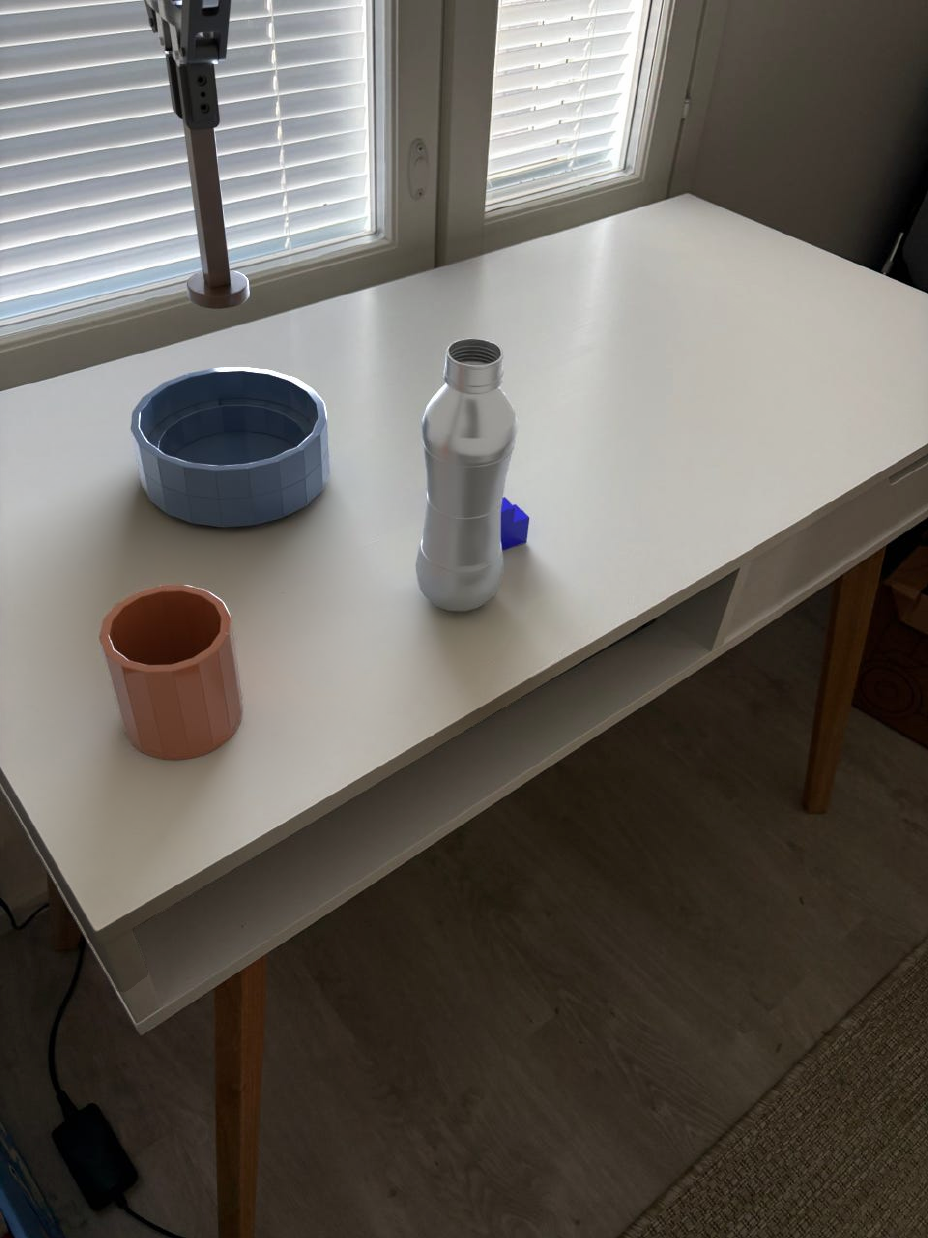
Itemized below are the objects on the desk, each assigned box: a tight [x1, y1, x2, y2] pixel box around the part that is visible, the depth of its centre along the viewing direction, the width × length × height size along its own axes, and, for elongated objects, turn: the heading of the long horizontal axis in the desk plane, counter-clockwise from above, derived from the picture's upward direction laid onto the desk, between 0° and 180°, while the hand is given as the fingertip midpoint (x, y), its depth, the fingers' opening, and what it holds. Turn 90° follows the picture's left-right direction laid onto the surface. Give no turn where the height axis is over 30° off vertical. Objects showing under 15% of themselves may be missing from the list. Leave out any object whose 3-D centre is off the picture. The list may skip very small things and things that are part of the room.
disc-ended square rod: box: [175, 33, 250, 310], centre depth 68 cm, size 4×4×17 cm
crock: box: [98, 584, 244, 761], centre depth 63 cm, size 8×8×8 cm
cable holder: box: [501, 496, 530, 551], centre depth 82 cm, size 8×4×4 cm, turn 31°
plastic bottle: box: [415, 337, 519, 612], centre depth 69 cm, size 6×7×20 cm
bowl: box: [130, 366, 330, 528], centre depth 84 cm, size 15×15×6 cm
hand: (197, 120), depth 66 cm, fingers closed on disc-ended square rod
